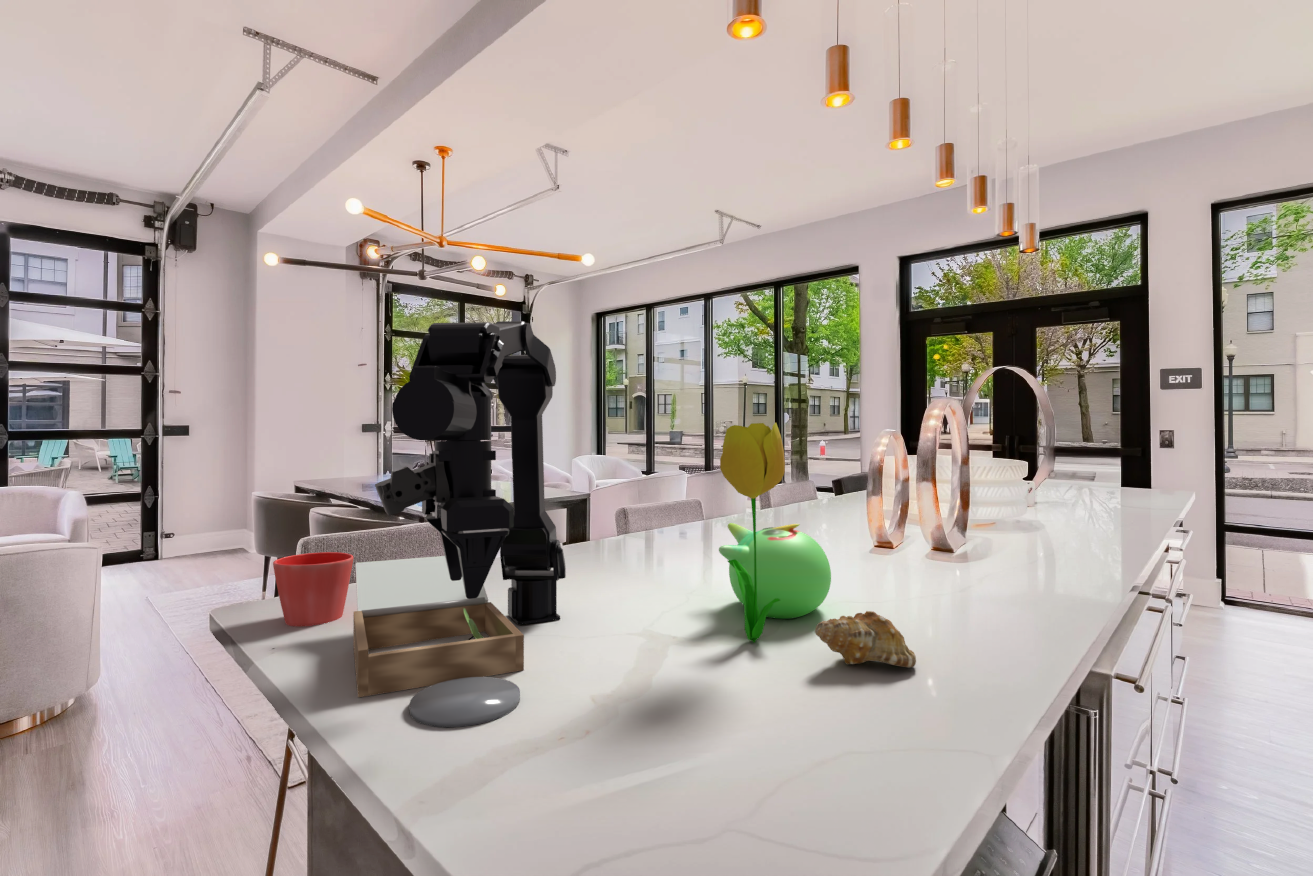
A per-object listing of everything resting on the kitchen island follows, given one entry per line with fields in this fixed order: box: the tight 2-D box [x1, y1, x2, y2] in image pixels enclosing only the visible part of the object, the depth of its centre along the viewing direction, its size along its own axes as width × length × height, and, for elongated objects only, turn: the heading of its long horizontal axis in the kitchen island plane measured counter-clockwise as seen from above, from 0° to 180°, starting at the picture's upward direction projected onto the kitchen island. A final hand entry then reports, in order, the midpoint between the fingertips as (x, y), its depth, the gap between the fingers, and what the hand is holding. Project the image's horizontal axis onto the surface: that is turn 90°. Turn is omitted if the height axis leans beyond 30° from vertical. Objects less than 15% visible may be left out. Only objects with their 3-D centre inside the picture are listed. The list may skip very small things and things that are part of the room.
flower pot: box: [272, 551, 355, 627], centre depth 98 cm, size 11×11×10 cm
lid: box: [355, 555, 489, 618], centre depth 92 cm, size 17×11×10 cm, turn 117°
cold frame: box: [352, 601, 525, 698], centre depth 80 cm, size 18×18×5 cm
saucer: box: [409, 676, 521, 728], centre depth 66 cm, size 11×11×1 cm
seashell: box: [814, 610, 917, 668], centre depth 77 cm, size 9×8×10 cm
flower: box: [719, 422, 786, 644], centre depth 85 cm, size 9×8×30 cm
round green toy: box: [718, 522, 832, 620], centre depth 100 cm, size 18×17×15 cm
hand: (463, 588), depth 67 cm, fingers open, 9 cm apart
